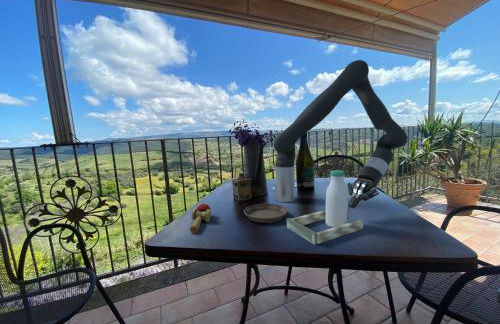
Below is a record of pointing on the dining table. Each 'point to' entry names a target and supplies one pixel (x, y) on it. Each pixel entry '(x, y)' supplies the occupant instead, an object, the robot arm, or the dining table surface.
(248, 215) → the plant saucer
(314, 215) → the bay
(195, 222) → the kendama
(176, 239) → the dining table surface
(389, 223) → the dining table surface
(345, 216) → the milk bottle
